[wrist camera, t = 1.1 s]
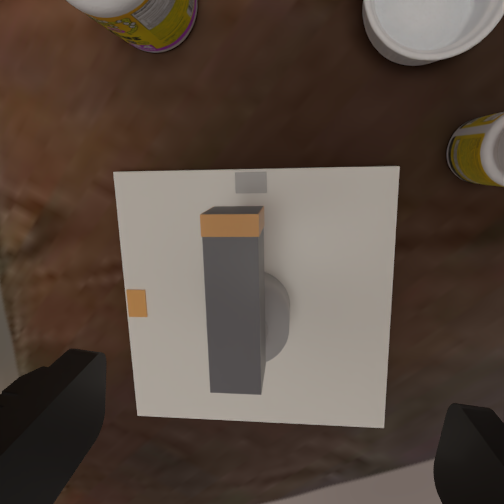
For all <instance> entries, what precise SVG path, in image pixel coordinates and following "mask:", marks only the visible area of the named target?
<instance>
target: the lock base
mask: <svg viewBox="0 0 504 504" xmlns="http://www.w3.org/2000/svg"><path fill="white" fill-rule="evenodd" d="M399 169H400V166H363V167H314V168H264V169H215V170H165V171H120V172H113V174H114V184H115V194H116V204H117V214H118V224H119V234H120V244H121V254H122V264H123V274H124V284H125V295H126V305H127V315H128V325H129V335H130V345H131V355H132V365H133V375H134V385H135V395H136V405H137V415H138V416H154V417H174V418H194V419H214V420H234V421H253V422H273V423H293V424H313V425H333V426H353V427H373V428H384V419H385V402H386V385H387V369H388V352H389V335H390V319H391V302H392V286H393V269H394V252H395V236H396V219H397V202H398V186H399ZM213 206H264V281H265V321H266V323H267V326H268V334H267V340H266V367H265V373H264V380H263V387H262V393H261V395H253V394H230V393H210V378H209V359H208V340H207V320H206V301H205V282H204V262H203V243H202V237H201V227H200V214H202V213H203V212H205V211H207V210H208V209H210V208H212V207H213Z"/></svg>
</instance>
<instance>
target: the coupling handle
mask: <svg viewBox="0 0 504 504" xmlns="http://www.w3.org/2000/svg"><path fill="white" fill-rule="evenodd" d="M200 227H201V237H202V243H203V262H204V282H205V301H206V320H207V340H208V359H209V378H210V393H230V394H253V395H261V393H262V387H263V380H264V373H265V367H266V340H267V334H268V326H267V323H266V321H265V281H264V206H213V207H212V208H210V209H208V210H207V211H205V212H203V213H202V214H200Z"/></svg>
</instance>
